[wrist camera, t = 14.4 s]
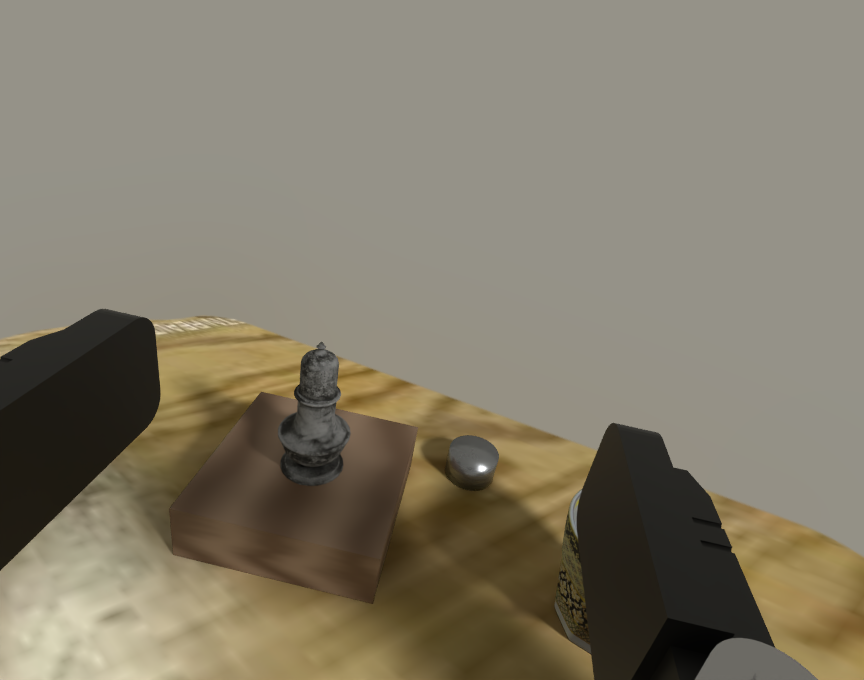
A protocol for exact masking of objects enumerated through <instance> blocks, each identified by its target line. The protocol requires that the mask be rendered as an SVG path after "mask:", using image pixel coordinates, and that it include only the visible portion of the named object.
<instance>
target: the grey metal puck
mask: <svg viewBox="0 0 864 680" xmlns="http://www.w3.org/2000/svg"><path fill="white" fill-rule="evenodd" d="M498 459H499V454H498V451H497V449H496V448H495V447H494V445H493V444H491V443H490V442H489V441H487V440H485V439H483V438H480V437H477V436H469V435H467V436H460V437H458V438H456V439H454V440H453V441H452V443H451V445H450V449H449V453H448V458H447V462H446V466H445V473H446V476H447V477H448V479H449V480H450V481H451V482H452V483H453V484H454V485H456V486H458V487H460V488H462V489H465V490H470V491H478V490H483V489H485V488H487V487H488V486H489V485H490V484H491V483H492V480H493V476H494V473H495V469H496V466H497V462H498Z"/></svg>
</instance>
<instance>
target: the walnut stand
mask: <svg viewBox="0 0 864 680" xmlns="http://www.w3.org/2000/svg"><path fill="white" fill-rule="evenodd" d="M297 405H298V400H295V399H291V398H286V397H282V396H277V395H273V394H269V393H264V392H261V393H260V394H259V395H258V396H257V398H256V399H255V400H254V401H253V403H252V404H251V405H250V407H249V408H248V409H247V410H246V412H245V413H244V414H243V415H242V417H241V418H240V419H239V421H238V422H237V423H236V424H235V426H234V427H233V428H232V429H231V431H230V432H229V433H228V434H227V436H226V437H225V438H224V440H223V441H222V442H221V443H220V445H219V446H218V447H217V448H216V450H215V451H214V452H213V454H212V455H211V456H210V457H209V459H208V460H207V461H206V462H205V464H204V465H203V466H202V467H201V469H200V470H199V471H198V473H197V474H196V475H195V476H194V478H193V479H192V480H191V481H190V483H189V484H188V485H187V487H186V488H185V489H184V490H183V492H182V493H181V494H180V495H179V497H178V498H177V499H176V500H175V502H174V503H173V504H172V506H171V507H170V508H169V512H170V523H171V534H172V545H173V555H177V556H181V557H185V558H189V559H193V560H197V561H201V562H205V563H209V564H213V565H217V566H221V567H225V568H230V569H234V570H238V571H242V572H246V573H250V574H254V575H258V576H262V577H266V578H270V579H274V580H279V581H283V582H287V583H291V584H295V585H299V586H303V587H307V588H311V589H315V590H319V591H323V592H327V593H332V594H336V595H340V596H344V597H348V598H352V599H356V600H360V601H364V602H368V603H372V604H373V601H374V597H375V594H376V590H377V586H378V583H379V579H380V575H381V572H382V568H383V565H384V561H385V557H386V554H387V550H388V546H389V543H390V539H391V535H392V532H393V528H394V525H395V521H396V517H397V514H398V510H399V506H400V503H401V499H402V495H403V492H404V488H405V484H406V481H407V477H408V474H409V470H410V466H411V461H412V456H413V451H414V446H415V440H416V435H417V430H418V427H414V426H410V425H405V424H401V423H397V422H392V421H388V420H383V419H379V418H375V417H370V416H366V415H361V414H357V413H352V412H348V411H344V410H339V409H335V414H337V415H339V416H340V417H342V418H343V419H344V420H345V421H346V422H347V424H348V425H349V427H350V432H351V435H350V438H349V441H348V442H347V444H346V445H345V447H344V449H343V450H342V451H341V453H340V454H341V456H342V458H343V464H344V465H343V469H342V472H341V473H340V475H339V476H338V477H337V478H335V479H334V480H333V481H331V482H329V483H326V484H323V485H318V486H306V485H300V484H297V483H294V482H292V481H291V480H289V479H288V478H286V476H285V475H284V474H283V473H282V470H281V468H280V461H281V458H282V456H283V454H284V453H285V450H284V448H283V445H282V443H281V442H280V439H279V437H278V427H279V425H280V423H281V422H282V421H283V420H284V419H285V418H286V417H287V416H289V415H291V414H292V413H295V412H297Z"/></svg>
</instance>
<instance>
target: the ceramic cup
mask: <svg viewBox="0 0 864 680" xmlns="http://www.w3.org/2000/svg"><path fill="white" fill-rule="evenodd" d="M581 492H582V489H581V490H580V491H579V492H578V493H577V494H576V495H575V496H574V497H573V499H572V501H571V503H570V507H569V511H568V515H567V520H566V525H565V531H564V538H563V546H562V561H561V566H560V572H559V579H558V586H557V592H556V597H555V598H556V599H555V609H556V612H557V614H558V616H559V619H560V621H561V623H562V625H563V627H564V630H565V632H566V634H567V636H568V638H569V640H570V641H571V642H573V643H574V644H576V645H578V646H579V647H581V648H582V649H584V650H585V651H587V652H589V653H590V654H591V647H590V638H589V630H588V621H587V613H586V604H585V595H584V587H583V578H582V570H581V561H580V553H579V544H578V535H577V509H578V503H579V499H580V495H581Z"/></svg>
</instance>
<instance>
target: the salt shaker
mask: <svg viewBox="0 0 864 680" xmlns="http://www.w3.org/2000/svg"><path fill="white" fill-rule="evenodd" d="M317 348H318V349H316V350H312V351H309V352H307V353H306V354H305V355H304V356H303V358H302V360H301V371H300V384H299V385H298V386H297V387H296V388H295V391H294V396H295V398H296V399H297V400H298V405H297V412H295V413H292V414H291V415H289V416H287V417H286V418H285V419H284V420H283V421H282V422H281V423H280V425H279V427H278V437H279V439H280V442H281V443H282V445H283V448H284V450H285V453H284V454H283V456H282V458H281V461H280V468H281V470H282V473H283V474H284V475H285V476H286V478H288V479H289V480H291V481H292V482H294V483H297V484H300V485H306V486H318V485H323V484H326V483H329V482H331V481H333V480H334V479H335V478H337V477H338V476H339V475H340V473H341V472H342V469H343V465H344V464H343V458H342V456H341V454H340V453H341V451H342V450H343V449H344V447H345V445H346V444H347V442H348V441H349V438H350V435H351V432H350V427H349V425H348V424H347V422H346V421H345V420H344V419H343V418H342V417H340V416H339V415H337V414H335V409H336V402H337V401H338V400H339V399H340V396H341V392H340V389H339V388H338V387H337V378H338V368H339V362H338V358H337V357H336V356H335V354H333V353H332V352H330V351H328V350H324V349H325V348H326V346H325V345H324V344H323V342H321V343H319V345H317Z"/></svg>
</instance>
